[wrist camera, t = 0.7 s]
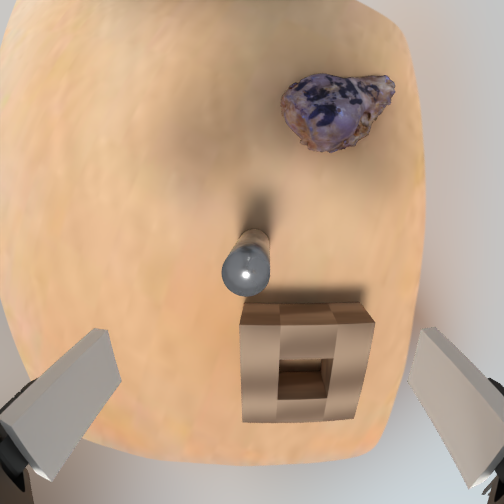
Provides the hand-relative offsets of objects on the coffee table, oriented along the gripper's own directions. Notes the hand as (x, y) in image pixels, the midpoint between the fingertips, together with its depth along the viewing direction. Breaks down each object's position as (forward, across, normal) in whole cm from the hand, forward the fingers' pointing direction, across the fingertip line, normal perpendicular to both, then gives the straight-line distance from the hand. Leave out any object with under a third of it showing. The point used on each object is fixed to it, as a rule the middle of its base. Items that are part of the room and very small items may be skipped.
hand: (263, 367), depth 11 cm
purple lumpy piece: (+18, +7, +14) cm, 24 cm away
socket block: (+18, +4, -11) cm, 21 cm away
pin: (+18, -1, +2) cm, 18 cm away
